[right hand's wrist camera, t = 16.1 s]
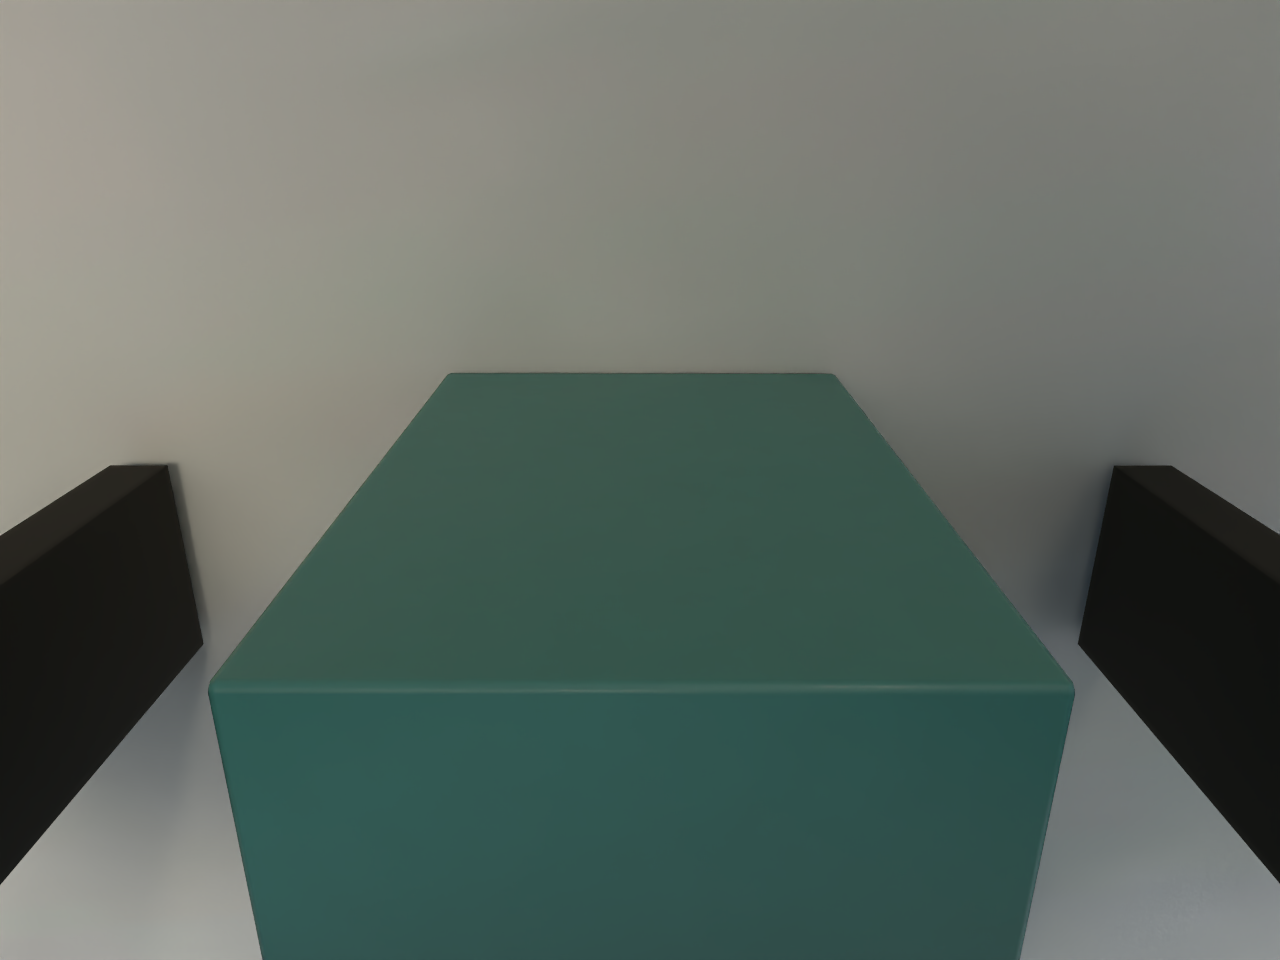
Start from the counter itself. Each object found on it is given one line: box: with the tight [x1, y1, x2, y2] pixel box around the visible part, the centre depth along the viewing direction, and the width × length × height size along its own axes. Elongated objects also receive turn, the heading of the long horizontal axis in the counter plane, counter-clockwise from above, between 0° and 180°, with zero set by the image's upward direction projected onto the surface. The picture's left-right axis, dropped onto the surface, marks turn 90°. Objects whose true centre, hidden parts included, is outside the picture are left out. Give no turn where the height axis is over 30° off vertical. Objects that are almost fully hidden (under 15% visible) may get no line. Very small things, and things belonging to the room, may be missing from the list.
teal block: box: [208, 373, 1075, 960], centre depth 9 cm, size 5×5×7 cm
